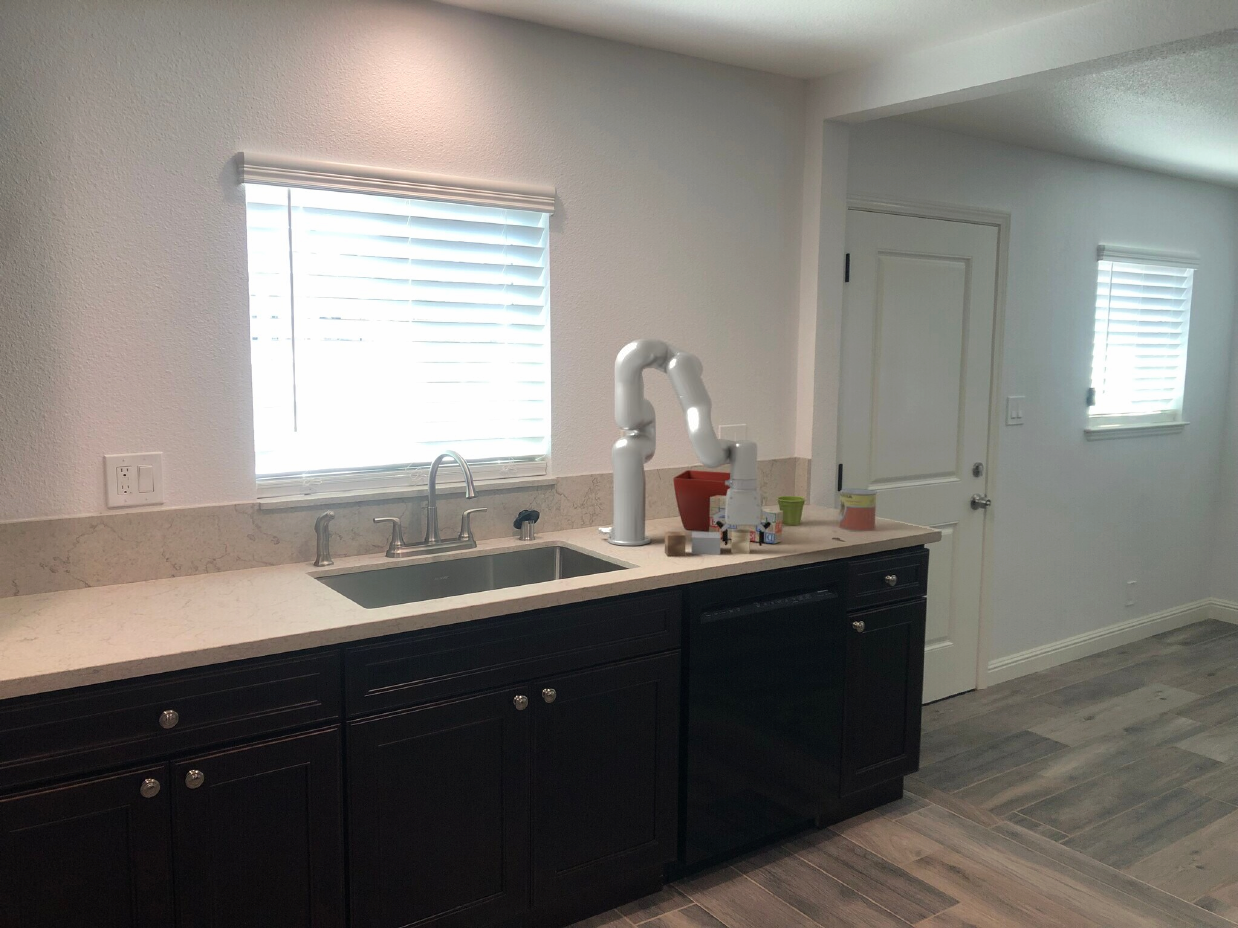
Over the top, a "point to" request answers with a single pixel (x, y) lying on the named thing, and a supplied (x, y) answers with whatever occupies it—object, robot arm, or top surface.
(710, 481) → the plant pot
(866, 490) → the canned food
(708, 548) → the stone block
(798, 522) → the plant pot
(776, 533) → the stack of blocks
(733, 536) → the maple cube
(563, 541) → the top surface
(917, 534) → the top surface
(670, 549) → the walnut cube
